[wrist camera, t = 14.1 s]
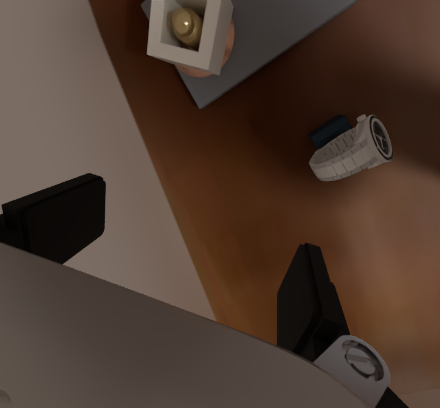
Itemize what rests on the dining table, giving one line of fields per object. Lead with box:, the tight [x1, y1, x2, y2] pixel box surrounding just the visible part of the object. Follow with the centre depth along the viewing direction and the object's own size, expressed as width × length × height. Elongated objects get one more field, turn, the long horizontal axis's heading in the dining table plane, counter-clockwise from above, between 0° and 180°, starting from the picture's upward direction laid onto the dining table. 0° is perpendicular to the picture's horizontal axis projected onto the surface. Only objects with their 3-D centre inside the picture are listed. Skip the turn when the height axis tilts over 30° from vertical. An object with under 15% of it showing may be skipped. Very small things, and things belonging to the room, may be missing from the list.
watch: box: [308, 114, 393, 181], centre depth 27 cm, size 6×8×11 cm
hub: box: [171, 8, 235, 78], centre depth 27 cm, size 9×9×6 cm
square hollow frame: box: [147, 0, 234, 76], centre depth 27 cm, size 7×7×6 cm
